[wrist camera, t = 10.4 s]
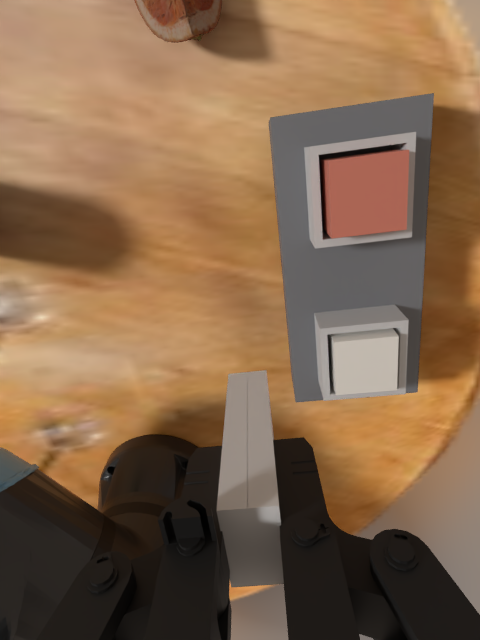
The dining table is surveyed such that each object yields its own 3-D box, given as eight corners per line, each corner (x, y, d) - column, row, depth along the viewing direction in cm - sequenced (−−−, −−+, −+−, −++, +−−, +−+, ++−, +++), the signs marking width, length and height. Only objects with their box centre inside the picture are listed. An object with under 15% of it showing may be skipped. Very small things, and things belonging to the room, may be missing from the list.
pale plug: (383, 366, 37) (396, 390, 34) (328, 371, 38) (336, 395, 34) (384, 317, 35) (398, 336, 32) (326, 322, 36) (333, 342, 32)
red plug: (389, 220, 31) (406, 229, 27) (323, 228, 32) (331, 238, 28) (390, 149, 29) (409, 149, 25) (319, 159, 30) (328, 160, 26)
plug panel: (400, 366, 43) (431, 413, 35) (291, 376, 44) (299, 424, 37) (409, 101, 33) (456, 85, 25) (268, 122, 34) (271, 113, 26)
